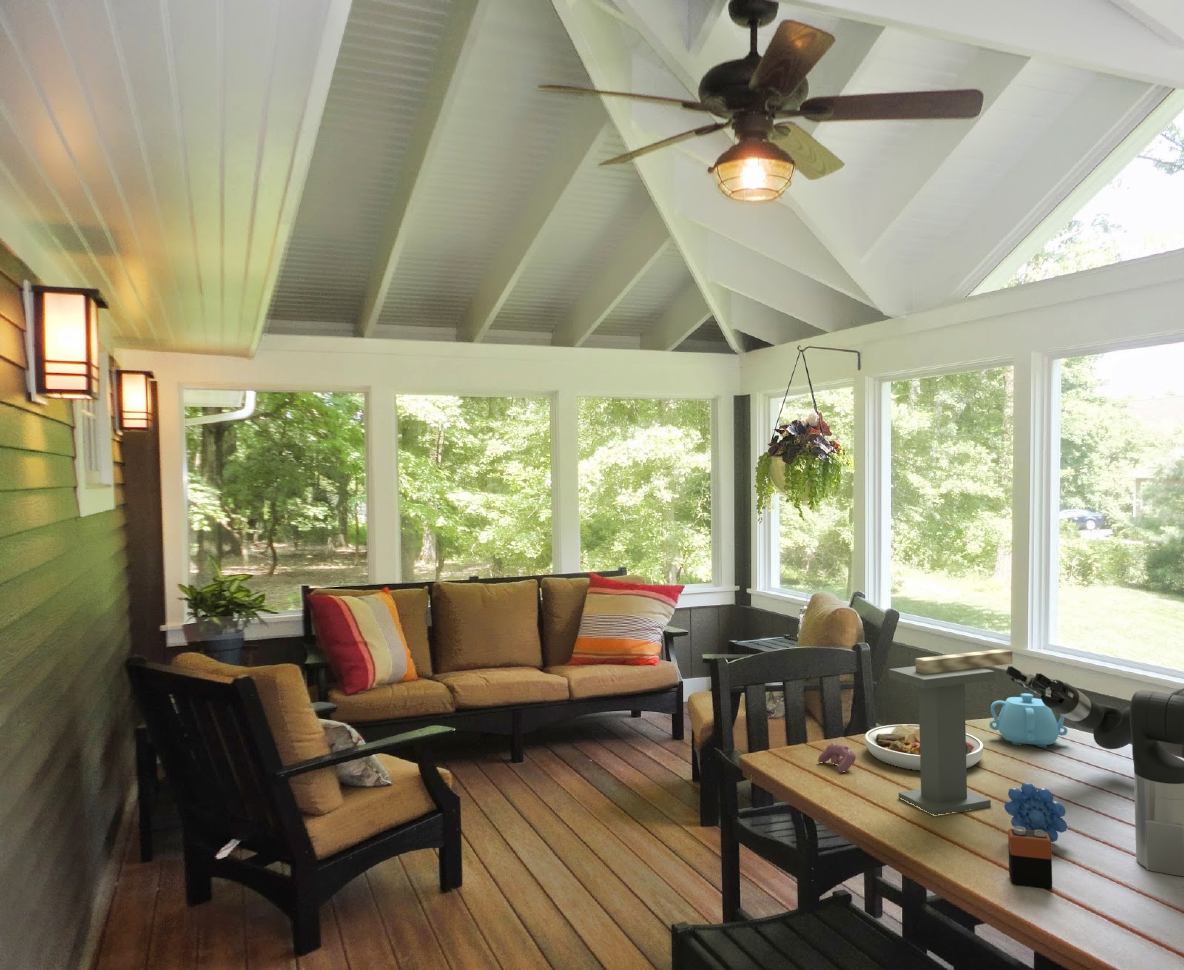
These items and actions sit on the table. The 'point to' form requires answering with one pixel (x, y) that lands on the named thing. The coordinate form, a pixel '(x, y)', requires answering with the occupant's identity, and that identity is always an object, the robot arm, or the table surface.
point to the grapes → (1036, 810)
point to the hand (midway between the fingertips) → (1021, 672)
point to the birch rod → (963, 661)
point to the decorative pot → (1027, 721)
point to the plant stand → (943, 739)
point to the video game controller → (838, 756)
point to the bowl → (910, 746)
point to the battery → (1030, 858)
